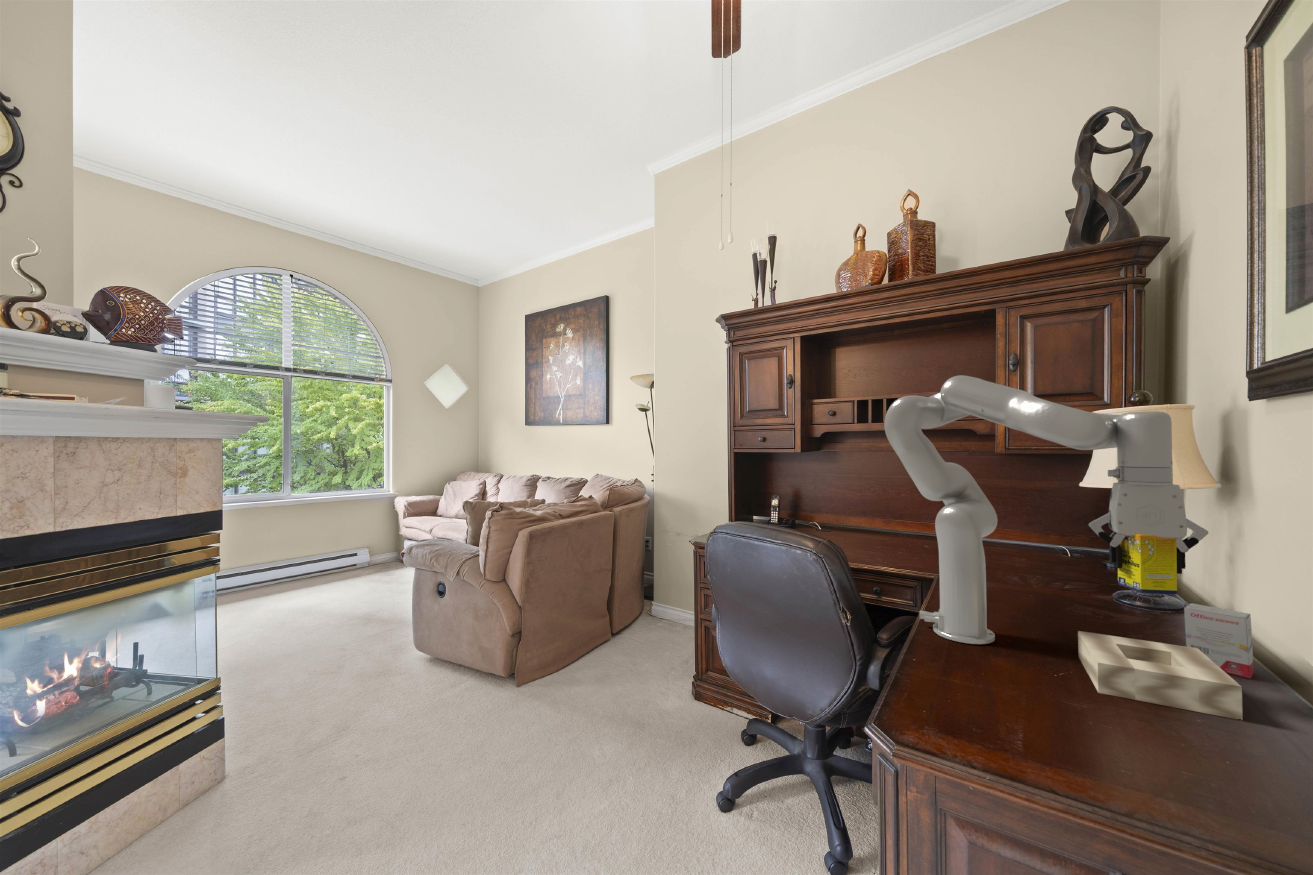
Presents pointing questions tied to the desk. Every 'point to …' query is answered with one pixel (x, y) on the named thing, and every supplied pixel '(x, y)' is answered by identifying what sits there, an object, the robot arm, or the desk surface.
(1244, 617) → the ink box
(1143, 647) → the well block
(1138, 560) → the supplement box
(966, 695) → the desk surface
